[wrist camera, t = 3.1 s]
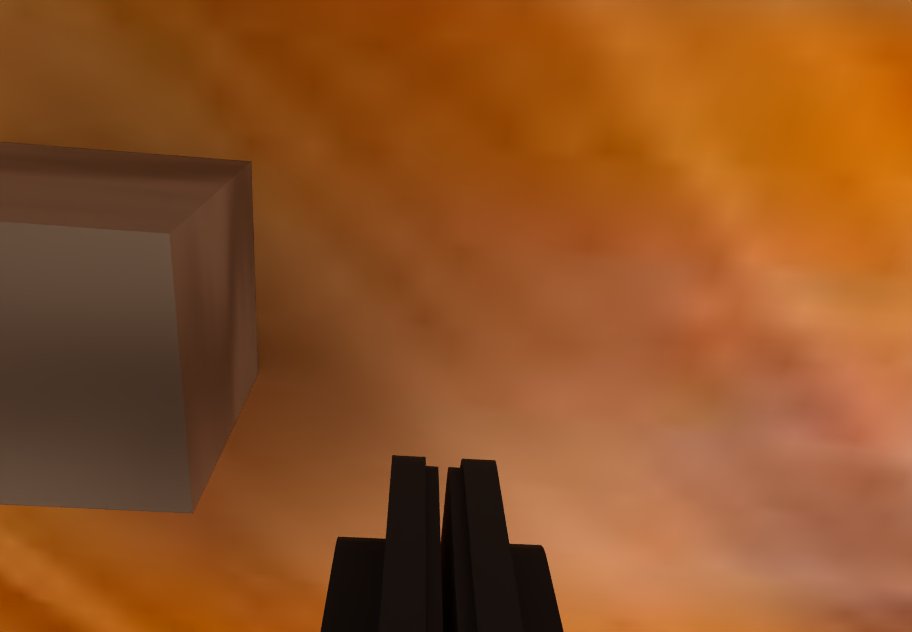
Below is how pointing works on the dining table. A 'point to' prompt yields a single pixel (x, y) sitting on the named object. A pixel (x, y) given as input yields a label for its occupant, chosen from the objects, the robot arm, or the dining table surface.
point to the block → (121, 324)
